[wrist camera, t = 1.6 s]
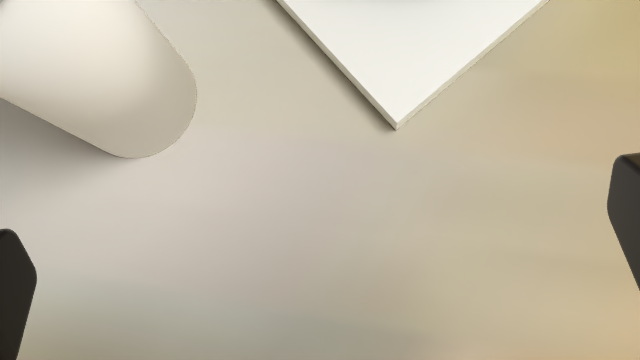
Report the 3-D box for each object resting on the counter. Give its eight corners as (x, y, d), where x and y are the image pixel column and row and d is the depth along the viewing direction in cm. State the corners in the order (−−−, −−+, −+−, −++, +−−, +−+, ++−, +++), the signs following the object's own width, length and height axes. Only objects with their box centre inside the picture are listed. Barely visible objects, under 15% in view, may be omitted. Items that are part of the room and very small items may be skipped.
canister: (124, 187, 23) (-154, 71, 11) (52, 94, 24) (-273, -105, 12) (224, 103, 24) (60, -99, 11) (149, 15, 25) (-74, -257, 12)
